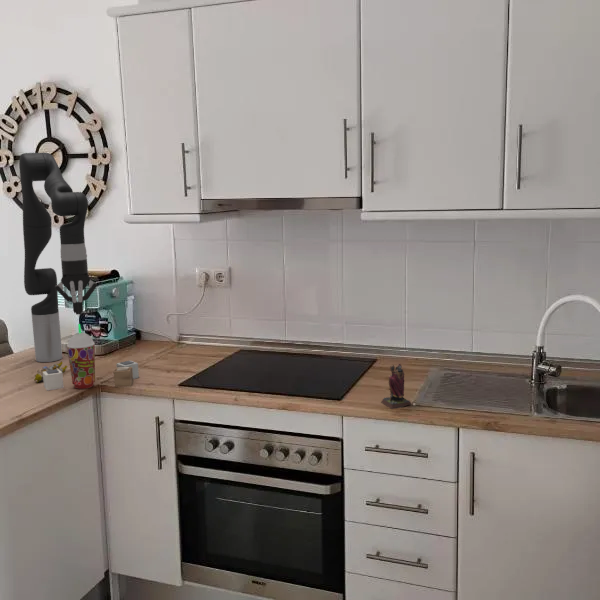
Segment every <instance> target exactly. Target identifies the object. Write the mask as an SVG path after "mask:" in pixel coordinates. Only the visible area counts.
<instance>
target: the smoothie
mask: <svg viewBox="0 0 600 600" xmlns="http://www.w3.org/2000/svg"><path fill="white" fill-rule="evenodd" d="M77 327H78V332H76V333H75V334H73V335H72V336H71V337H70V338H69V340H68V342H67V344H66V349H67V355H68V362H69V368H70V369H69V370H70V376H71V382H72V385H74V388H76V389H80V390H81V389H90V388H92V387H93V386H94V384H95V383H96V363H95V361H96V358H95V356H96V355H95V354H96V353H95V350H96V349H95V341H94V339H93V338H92V337H91V336H90V334H88V333H85V332H82V328H81V324H80V323H78V325H77Z"/></svg>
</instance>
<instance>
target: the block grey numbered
mask: <svg viewBox="0 0 600 600" xmlns="http://www.w3.org/2000/svg"><path fill="white" fill-rule="evenodd" d="M115 365H116V366H115V367H116V368H119V367H132V370H133V380H135V379H139V378H140V377H139V363H138V362H135V361H133V360H126V361H121V362H117V363H116V364H115Z"/></svg>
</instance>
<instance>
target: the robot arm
mask: <svg viewBox="0 0 600 600" xmlns="http://www.w3.org/2000/svg"><path fill="white" fill-rule="evenodd" d="M18 160H19V161H18V163H19V165H18V167H19V175H20V177H19V178H20V186H21V187H20V188H21V195H22V231H23V232H22V234H23V245H24V246H23V249H24V263H23V264H24V267H23V268H24V269H23V270H24V271H23V272H24V273H23V285H24V290H25V293H26V294H27V295H29V296H41V295H46V297H45V298H44V299H43V300H41V301H39V302H38V303H35V304H33V305H31V308H30V311H31V323H32V333H33V335H32V336H33V343H34V356H35V362H38V363H48V362H49V363H51V362H56V361H60V360H62V359H63V349H62V347H63V346H62V336H61V335H62V333H61V324H60V312H59V311H60V309H59V300H58V297H59V296H58V293H59V295H61V296H62V297H63V298H64V299H65V300H66V301H67V302H71V303H72V309H73V310H72V311H73V313H74V314H76V315H78V316H79V315H82V313H83V312H84V307H83V306H84V305H83V302H84V301H87V300H89V298H90V297H91V295H92V294H93V292H94V291H95V290H96V288H97V287H98V284H97V282H95V281H93V280H92V279H91V277H90V276H89V270H88V254H87V247H86V243H85V239H86V238H85V224H86V223H85V222H86V216H87V212H88V208H89V207H88V206H89V201H88V198H87V196H86V194H84V193H83V192H81V191H73V189H72V186H70V184H69V183H68V182H67V181H66V179H65V178H64V177H63V174H62V172H61V169H60V167H59V165H58V163H57V161H56V159H55V157H54V156H53V155H52V154H51V153H49V152H25V153H22V154H20V156H19V159H18ZM42 181H43V182H44V183H43V187H44V191H45V194H46V195H47V196H48V197H49V199H50V203H51V204H50V205H51V210H52V213H54V214H55V215H56V216H60V217H70V216H71V217H74V218H73V220H72V221H71V222H68V223H64V224H62V225H60V227H59V239H60V261H61V279H60V282H59V283H58V277H57V273H56V270H55V268H51V267H46V268H37V269H36V266H37V262H38V259H39V257H40V256H41V254H42V252H43V251H44V250H45V248H46V247H47V245H48V244H49V243H50V241H51V238H52V234H53V233H52V232H53V231H52V228H53V227H52V226H53V225H52V216H51V214H50V212H49V211H48V209H47V208H46V206H45V205H44V204H43V203H42V202H41V200H40V199H39V198H38V196H37V194H36V192H35V190H34V186H33V184H34V183H33V182H42ZM87 286H88V287H89V288H88V290H87V291H86V292H85V294H83V291H84V290H85V289H86V288H87ZM64 287H65V288H66V289H67V290H68V291H69V292H70V293H71V294H70V295H71V296H70V295H68V294H67V292H65V290H64ZM76 292H77V294H76Z"/></svg>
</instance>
